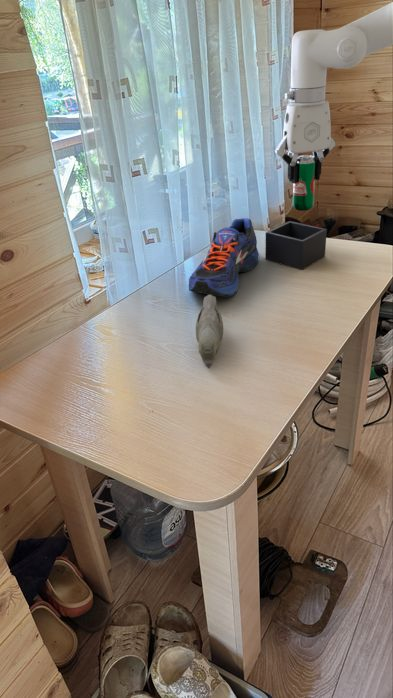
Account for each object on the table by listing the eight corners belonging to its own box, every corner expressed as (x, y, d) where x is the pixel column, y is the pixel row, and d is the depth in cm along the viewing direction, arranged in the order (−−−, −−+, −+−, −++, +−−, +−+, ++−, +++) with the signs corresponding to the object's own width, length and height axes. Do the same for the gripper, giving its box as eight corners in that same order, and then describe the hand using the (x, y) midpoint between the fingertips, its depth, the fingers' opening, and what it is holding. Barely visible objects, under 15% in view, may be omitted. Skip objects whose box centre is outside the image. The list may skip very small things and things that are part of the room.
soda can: (288, 208, 126) (289, 157, 120) (302, 203, 129) (304, 153, 122) (303, 212, 123) (305, 160, 116) (317, 207, 125) (320, 156, 119)
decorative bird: (194, 369, 96) (191, 335, 92) (198, 326, 109) (196, 294, 105) (223, 368, 95) (221, 334, 91) (224, 325, 109) (223, 294, 105)
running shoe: (176, 306, 118) (171, 254, 111) (220, 253, 143) (218, 208, 136) (227, 312, 114) (225, 259, 107) (263, 256, 139) (263, 210, 132)
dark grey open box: (325, 256, 136) (327, 229, 132) (301, 270, 130) (303, 241, 126) (288, 247, 143) (289, 220, 139) (265, 259, 137) (265, 232, 133)
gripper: (278, 102, 108) (277, 189, 117) (351, 93, 111) (344, 179, 121) (264, 98, 114) (264, 181, 124) (334, 90, 117) (328, 172, 127)
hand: (304, 179), depth 122 cm, fingers closed on soda can, 5 cm apart
